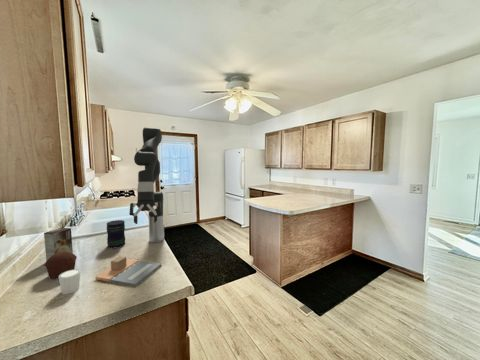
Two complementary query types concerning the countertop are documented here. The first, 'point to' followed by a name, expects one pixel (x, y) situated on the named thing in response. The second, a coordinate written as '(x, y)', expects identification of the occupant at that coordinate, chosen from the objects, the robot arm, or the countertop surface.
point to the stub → (116, 268)
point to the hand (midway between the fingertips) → (145, 223)
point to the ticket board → (136, 273)
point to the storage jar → (116, 234)
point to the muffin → (60, 264)
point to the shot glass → (69, 281)
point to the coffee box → (58, 241)
